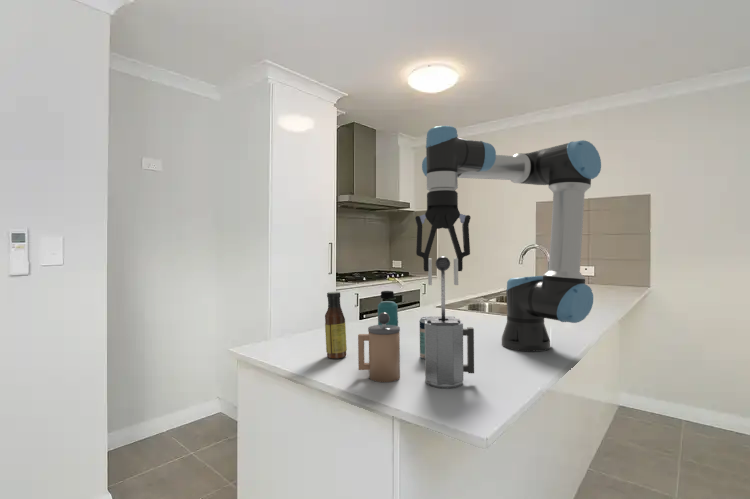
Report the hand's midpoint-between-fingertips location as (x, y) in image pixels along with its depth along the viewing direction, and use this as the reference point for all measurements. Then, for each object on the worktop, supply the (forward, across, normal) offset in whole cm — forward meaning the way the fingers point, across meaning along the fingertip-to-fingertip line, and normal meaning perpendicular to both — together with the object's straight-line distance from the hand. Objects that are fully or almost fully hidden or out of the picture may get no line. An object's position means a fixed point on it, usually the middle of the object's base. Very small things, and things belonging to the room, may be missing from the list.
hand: (443, 284), depth 100 cm
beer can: (+25, +3, -21) cm, 32 cm away
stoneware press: (+24, +16, -3) cm, 29 cm away
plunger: (+13, 0, 0) cm, 13 cm away
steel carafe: (+24, -1, 0) cm, 24 cm away
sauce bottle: (+25, +31, -21) cm, 45 cm away
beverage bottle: (+25, +15, -23) cm, 37 cm away
